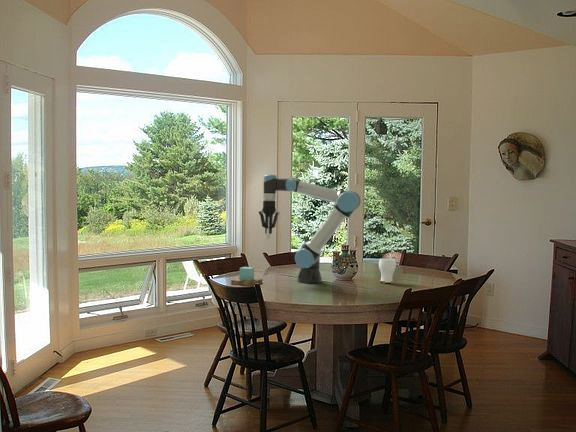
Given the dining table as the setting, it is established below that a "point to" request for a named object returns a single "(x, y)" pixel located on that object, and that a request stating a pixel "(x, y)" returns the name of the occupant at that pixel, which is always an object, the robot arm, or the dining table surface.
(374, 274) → the dining table surface
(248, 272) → the mint green cube
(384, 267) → the cup
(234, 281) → the stand
